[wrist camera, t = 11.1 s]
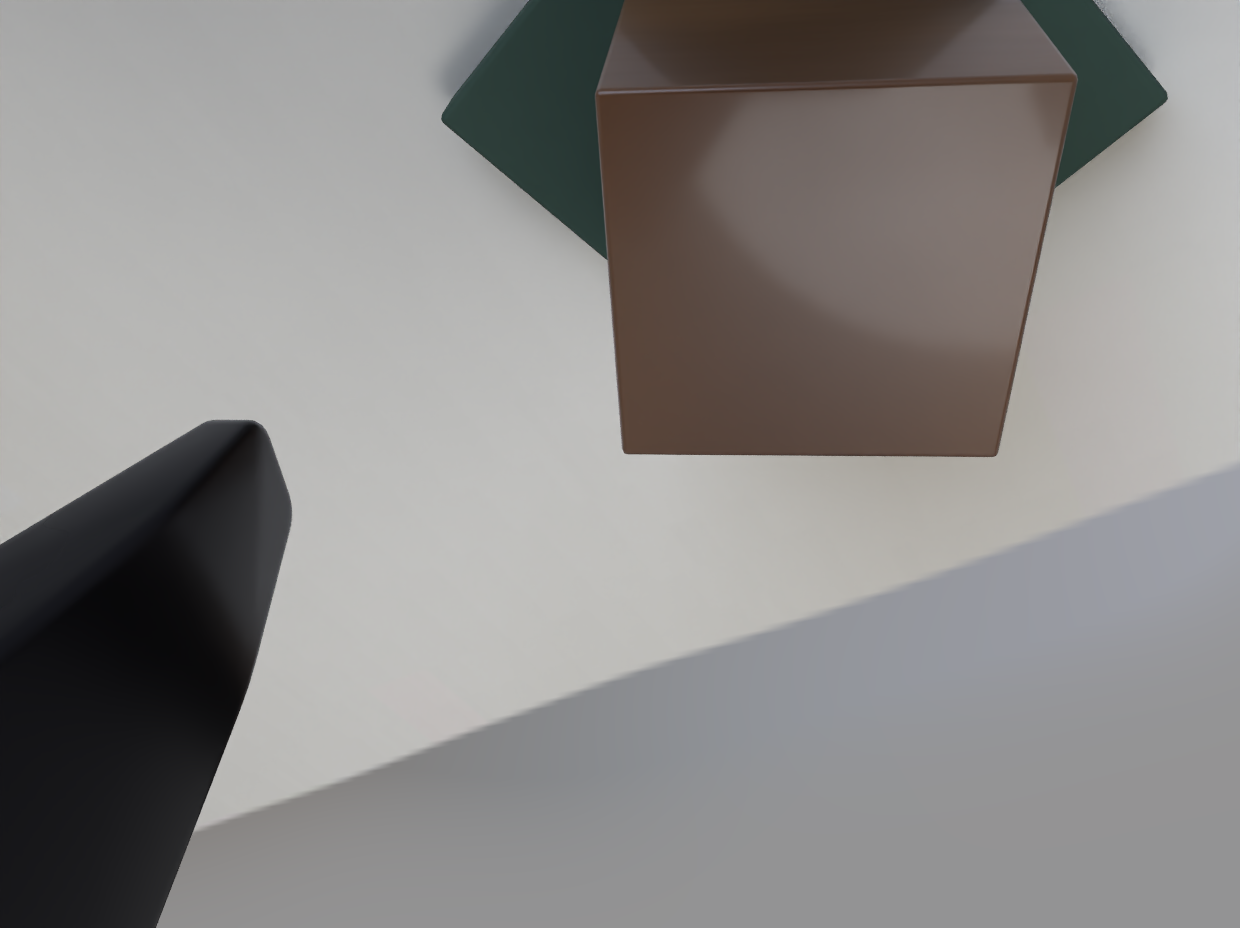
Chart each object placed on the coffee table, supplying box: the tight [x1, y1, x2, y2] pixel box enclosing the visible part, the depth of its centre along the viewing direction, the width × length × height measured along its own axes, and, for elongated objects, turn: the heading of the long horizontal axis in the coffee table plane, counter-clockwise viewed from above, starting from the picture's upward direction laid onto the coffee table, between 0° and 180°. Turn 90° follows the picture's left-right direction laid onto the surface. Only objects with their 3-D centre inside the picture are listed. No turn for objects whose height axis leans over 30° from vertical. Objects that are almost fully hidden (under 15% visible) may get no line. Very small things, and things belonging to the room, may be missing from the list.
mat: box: [441, 0, 1168, 260], centre depth 14 cm, size 7×7×1 cm
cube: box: [595, 0, 1078, 457], centre depth 12 cm, size 4×4×4 cm
